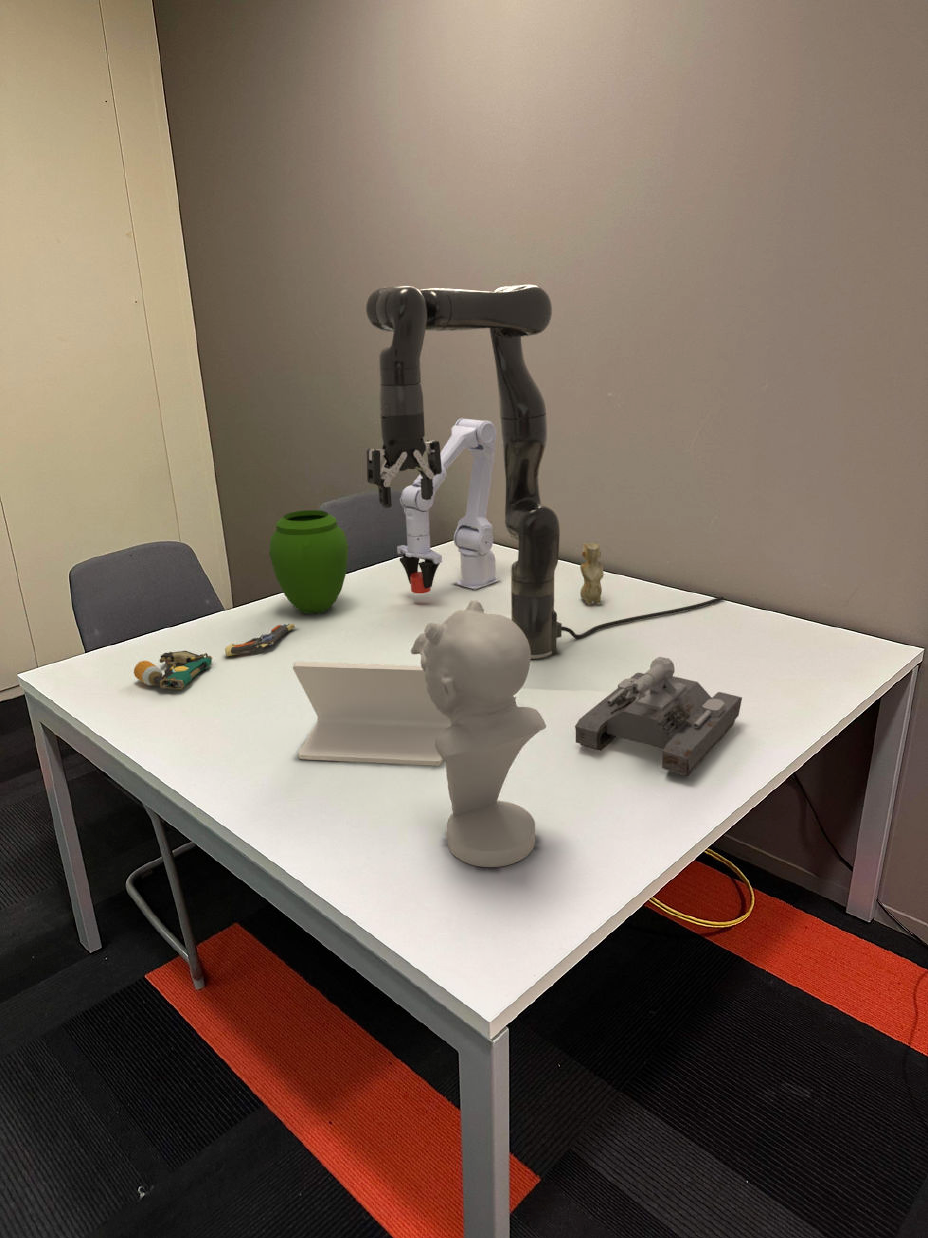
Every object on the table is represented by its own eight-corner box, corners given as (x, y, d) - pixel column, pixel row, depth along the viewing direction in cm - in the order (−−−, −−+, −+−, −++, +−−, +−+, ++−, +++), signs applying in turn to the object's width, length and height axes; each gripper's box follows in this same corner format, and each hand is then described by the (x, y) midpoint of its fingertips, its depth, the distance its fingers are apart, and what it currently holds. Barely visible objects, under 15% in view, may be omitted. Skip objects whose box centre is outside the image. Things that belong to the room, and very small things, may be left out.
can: (417, 595, 216) (416, 578, 214) (407, 590, 220) (406, 574, 218) (434, 590, 218) (433, 575, 217) (423, 586, 222) (423, 570, 221)
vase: (368, 603, 220) (362, 511, 212) (318, 627, 205) (308, 529, 196) (311, 592, 230) (303, 503, 222) (259, 614, 215) (248, 520, 206)
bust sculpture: (481, 772, 140) (476, 569, 128) (565, 848, 120) (569, 617, 108) (392, 800, 134) (378, 588, 121) (465, 886, 114) (457, 642, 101)
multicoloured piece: (177, 659, 191) (231, 671, 185) (120, 684, 176) (176, 698, 171) (176, 641, 190) (230, 653, 184) (118, 665, 175) (174, 678, 169)
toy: (637, 695, 165) (641, 623, 160) (740, 721, 154) (747, 645, 149) (574, 750, 146) (575, 670, 141) (685, 784, 135) (691, 699, 130)
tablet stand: (441, 765, 143) (437, 672, 137) (297, 759, 146) (287, 668, 140) (456, 716, 160) (453, 631, 154) (327, 711, 163) (319, 628, 157)
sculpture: (599, 596, 220) (601, 540, 215) (605, 605, 214) (607, 548, 208) (577, 597, 220) (578, 541, 215) (582, 606, 213) (583, 549, 208)
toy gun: (221, 647, 188) (262, 644, 186) (256, 622, 206) (295, 619, 204) (223, 659, 189) (265, 656, 187) (258, 633, 207) (297, 630, 205)
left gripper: (387, 532, 216) (390, 583, 221) (426, 541, 206) (428, 595, 211) (407, 526, 221) (410, 576, 225) (447, 535, 211) (449, 588, 216)
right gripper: (423, 405, 154) (427, 493, 159) (355, 413, 146) (361, 506, 151) (448, 408, 148) (451, 500, 154) (378, 416, 140) (384, 513, 146)
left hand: (420, 585), depth 219 cm, fingers closed on can, 5 cm apart
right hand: (406, 503), depth 153 cm, fingers open, 8 cm apart
